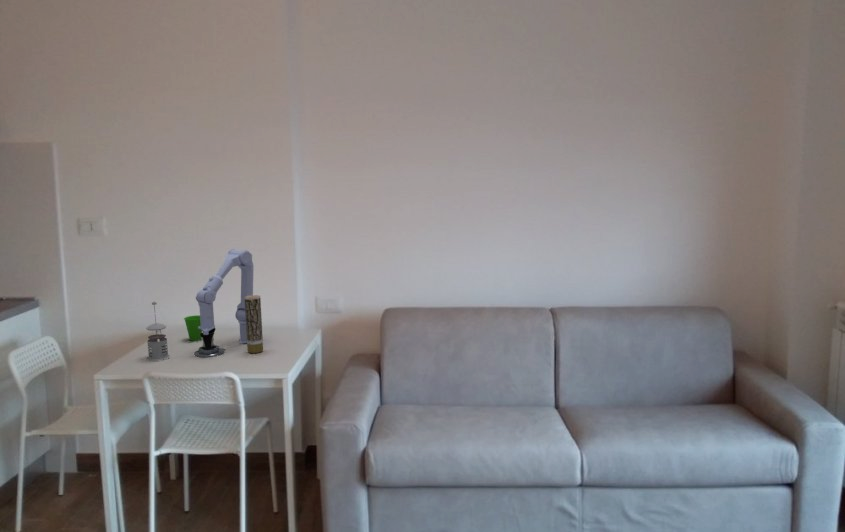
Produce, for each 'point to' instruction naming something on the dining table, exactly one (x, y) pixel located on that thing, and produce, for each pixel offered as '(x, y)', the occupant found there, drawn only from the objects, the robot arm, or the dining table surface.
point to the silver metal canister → (211, 345)
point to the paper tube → (253, 324)
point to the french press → (157, 348)
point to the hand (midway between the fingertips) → (209, 346)
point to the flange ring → (209, 352)
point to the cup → (193, 327)
